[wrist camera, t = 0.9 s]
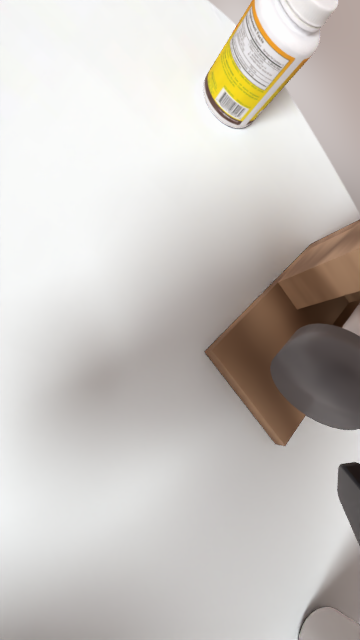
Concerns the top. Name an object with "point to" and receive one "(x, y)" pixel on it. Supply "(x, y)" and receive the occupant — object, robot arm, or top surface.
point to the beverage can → (329, 626)
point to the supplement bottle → (263, 56)
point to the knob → (323, 372)
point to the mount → (288, 325)
